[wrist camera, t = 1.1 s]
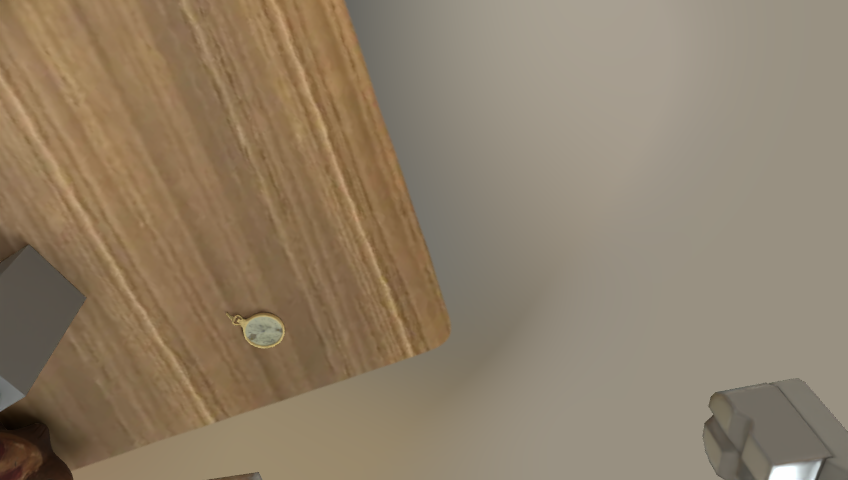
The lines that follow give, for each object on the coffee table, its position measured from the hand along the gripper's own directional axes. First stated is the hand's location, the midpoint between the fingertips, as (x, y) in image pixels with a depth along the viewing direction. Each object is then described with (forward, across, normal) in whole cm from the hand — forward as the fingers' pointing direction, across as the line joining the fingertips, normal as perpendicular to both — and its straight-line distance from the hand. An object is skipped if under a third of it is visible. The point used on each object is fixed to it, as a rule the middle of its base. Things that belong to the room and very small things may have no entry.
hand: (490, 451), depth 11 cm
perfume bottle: (+42, +34, +23) cm, 59 cm away
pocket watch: (+42, +16, +30) cm, 54 cm away
